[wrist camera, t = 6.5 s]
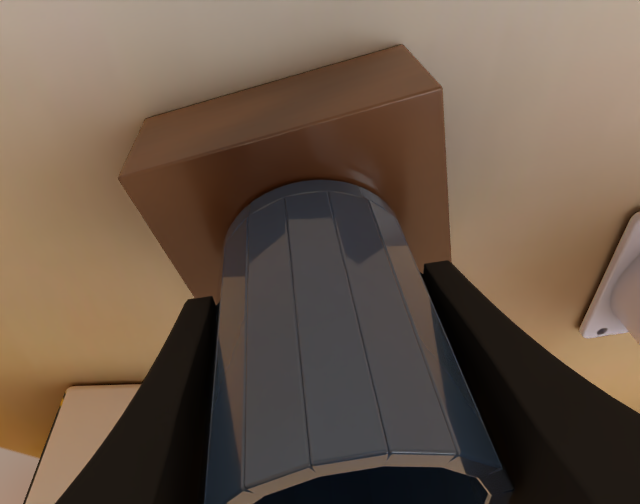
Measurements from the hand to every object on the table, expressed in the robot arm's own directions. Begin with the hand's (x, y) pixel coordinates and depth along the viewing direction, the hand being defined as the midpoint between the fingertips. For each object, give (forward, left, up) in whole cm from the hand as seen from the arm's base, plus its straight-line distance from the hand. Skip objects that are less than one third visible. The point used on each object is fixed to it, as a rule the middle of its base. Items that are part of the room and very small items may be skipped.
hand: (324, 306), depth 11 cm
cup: (0, 0, -2) cm, 2 cm away
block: (0, 0, -6) cm, 6 cm away
